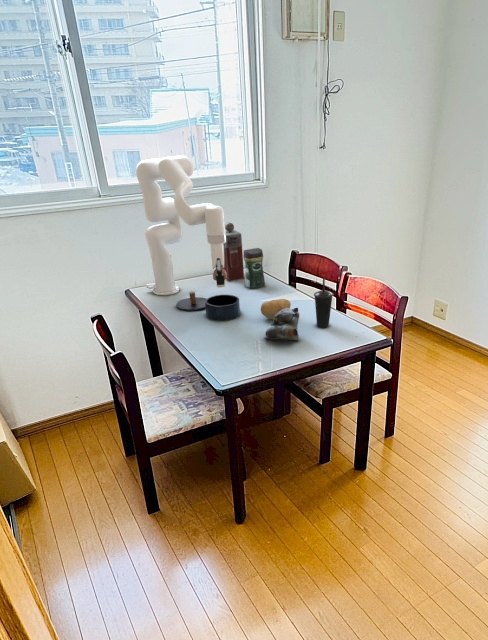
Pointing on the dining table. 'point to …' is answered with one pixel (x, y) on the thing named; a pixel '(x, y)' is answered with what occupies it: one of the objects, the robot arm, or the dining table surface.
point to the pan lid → (191, 303)
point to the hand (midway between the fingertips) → (220, 281)
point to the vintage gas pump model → (233, 254)
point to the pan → (222, 307)
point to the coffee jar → (254, 268)
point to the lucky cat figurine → (284, 325)
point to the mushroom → (224, 277)
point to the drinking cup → (323, 306)
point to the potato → (274, 307)
